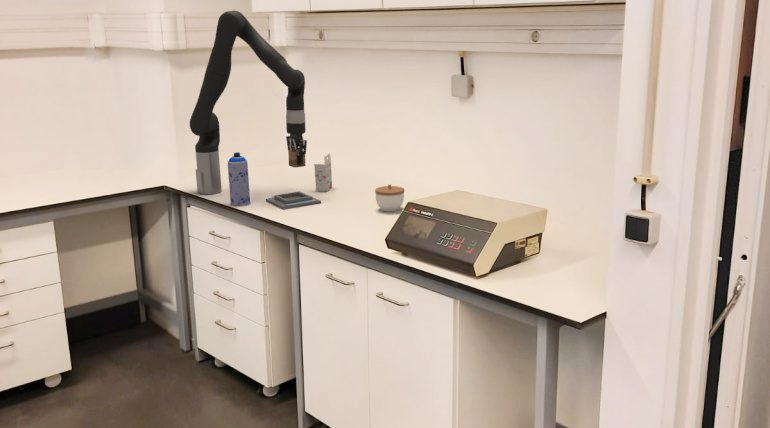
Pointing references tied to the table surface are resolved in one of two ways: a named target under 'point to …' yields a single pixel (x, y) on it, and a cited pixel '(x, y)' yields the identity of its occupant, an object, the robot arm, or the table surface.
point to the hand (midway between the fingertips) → (297, 163)
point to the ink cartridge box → (323, 174)
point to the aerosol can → (238, 180)
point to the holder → (292, 200)
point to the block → (295, 159)
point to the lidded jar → (389, 197)
